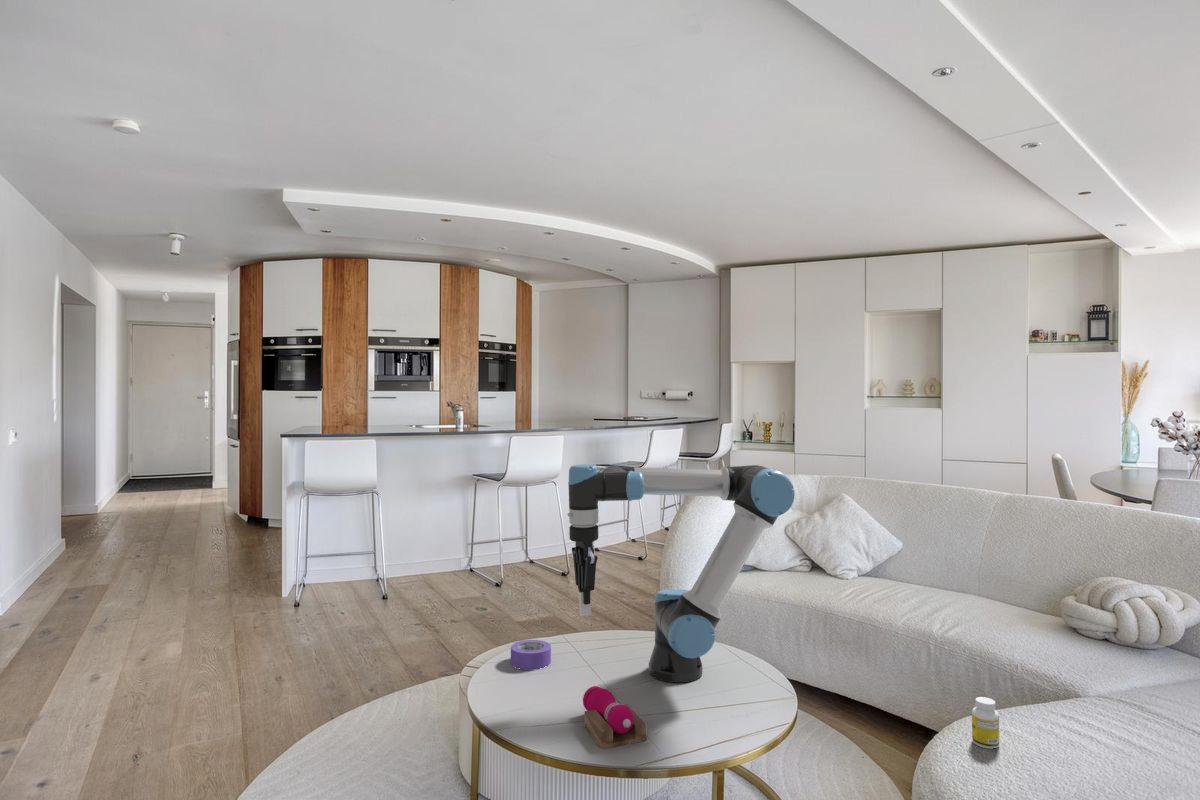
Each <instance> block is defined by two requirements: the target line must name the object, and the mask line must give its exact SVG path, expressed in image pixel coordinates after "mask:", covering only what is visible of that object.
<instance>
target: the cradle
mask: <svg viewBox="0 0 1200 800" xmlns="http://www.w3.org/2000/svg"><path fill="white" fill-rule="evenodd" d="M623 705H626V706H627V707H629V708H630V709H631V711H632V713H633V716H634V722H633V725H632V727H631V728H630V730H628V731H627V732H625V733H617V732H615V731H613V729H612V728H611V727H610V726H609V724H608V723H607V722H606V720H604V719H603V718H602V717H601V715H600V714H599V713H598V712H597V711H596V710H589V711H587V710H584V725H583V726H584V729H585V730H586V731H587V732H588V735H590V736H591V738H592V739H593V741H595V743H596V744H597V745H598V747H599V748H600V749H602V750H604V749H608V748H614V747H618V746H619V747H620V746H623V745H624V746H625V745H629V744H634V743H639V742H644V741H647V740H648V739H647V738H648V737H647V722H646V721H644V720H643V718H642V717H641V716H640V715H638V714H637V713H636V711H635V710H634V709H633V708H631V706H630V705H628V703H626V704H623Z"/></svg>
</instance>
